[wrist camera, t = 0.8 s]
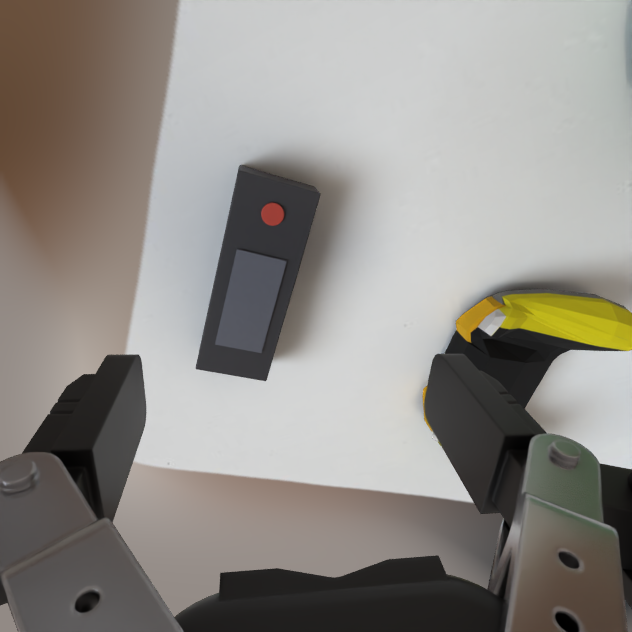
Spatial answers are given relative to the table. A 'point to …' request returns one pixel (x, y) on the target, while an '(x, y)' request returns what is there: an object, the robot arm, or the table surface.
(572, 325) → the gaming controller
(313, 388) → the table surface
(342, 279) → the table surface
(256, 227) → the remote
